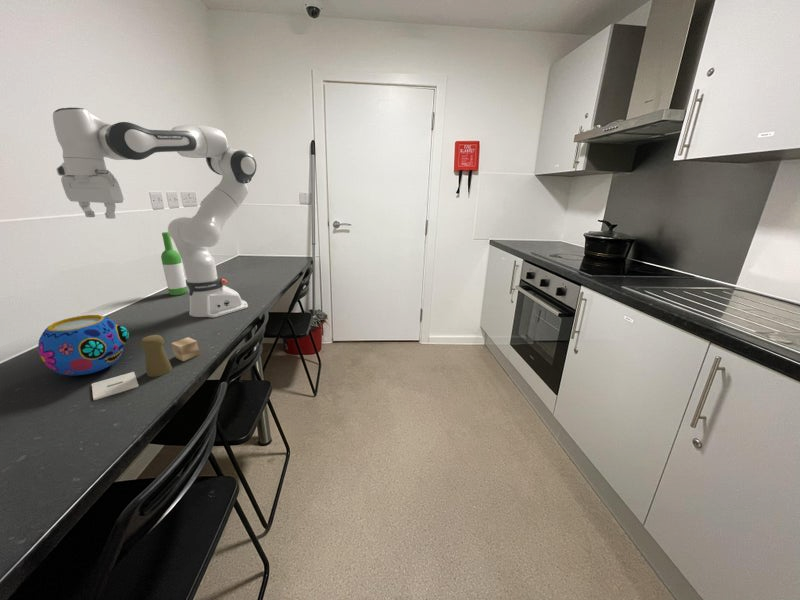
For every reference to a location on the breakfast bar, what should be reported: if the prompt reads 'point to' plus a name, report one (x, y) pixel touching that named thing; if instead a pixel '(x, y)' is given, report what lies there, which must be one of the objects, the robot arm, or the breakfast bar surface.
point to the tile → (114, 385)
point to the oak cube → (185, 349)
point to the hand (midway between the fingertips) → (100, 217)
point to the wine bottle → (173, 268)
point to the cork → (155, 356)
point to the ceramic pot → (82, 344)
